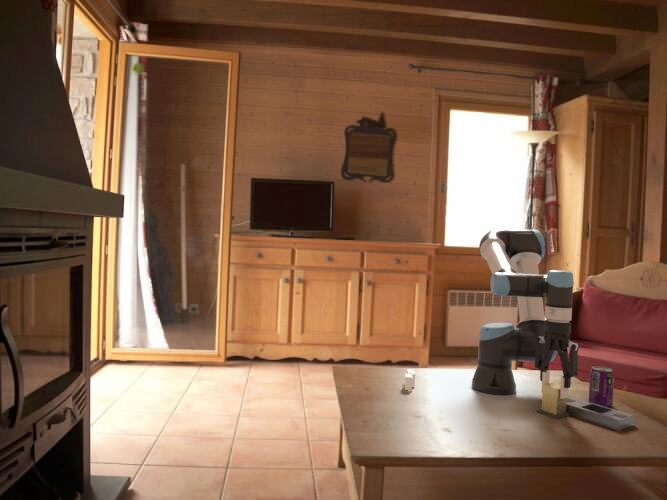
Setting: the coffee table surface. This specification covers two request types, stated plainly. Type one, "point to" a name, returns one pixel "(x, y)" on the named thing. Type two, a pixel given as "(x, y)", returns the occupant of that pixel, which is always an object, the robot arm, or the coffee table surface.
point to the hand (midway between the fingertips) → (554, 394)
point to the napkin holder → (409, 379)
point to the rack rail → (599, 414)
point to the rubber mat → (553, 414)
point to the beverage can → (601, 386)
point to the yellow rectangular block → (553, 399)
